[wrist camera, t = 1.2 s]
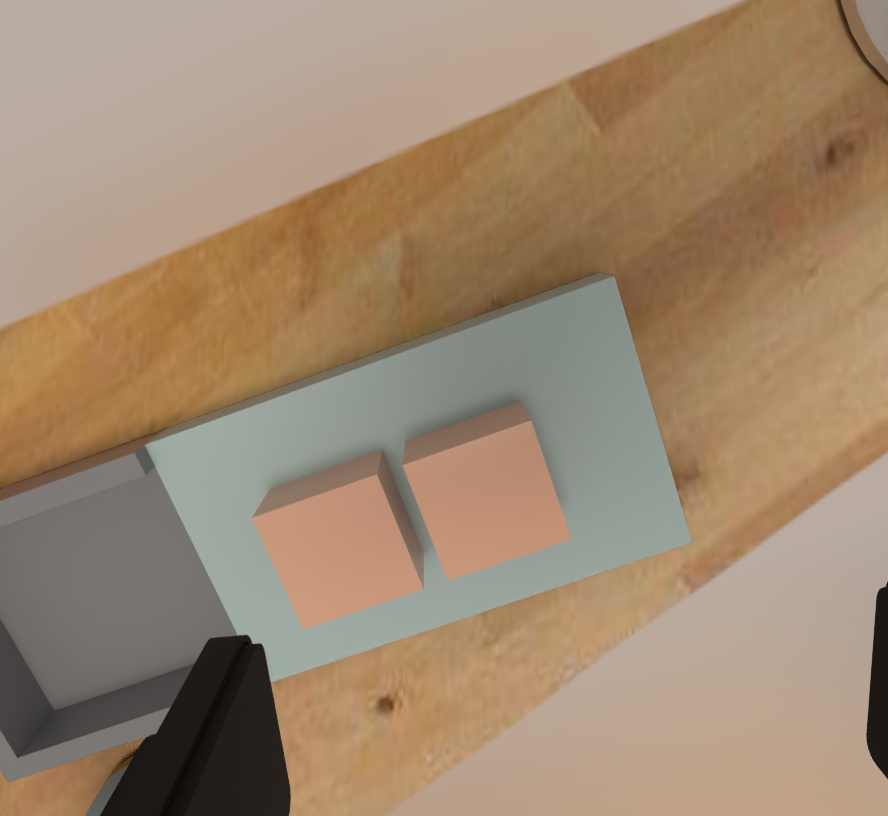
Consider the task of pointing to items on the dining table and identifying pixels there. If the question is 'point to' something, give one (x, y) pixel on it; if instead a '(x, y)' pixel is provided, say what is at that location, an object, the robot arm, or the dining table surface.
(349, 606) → the tile
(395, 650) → the dining table surface
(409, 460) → the tile
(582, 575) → the pale green lid panel
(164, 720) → the robot arm
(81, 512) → the tray
